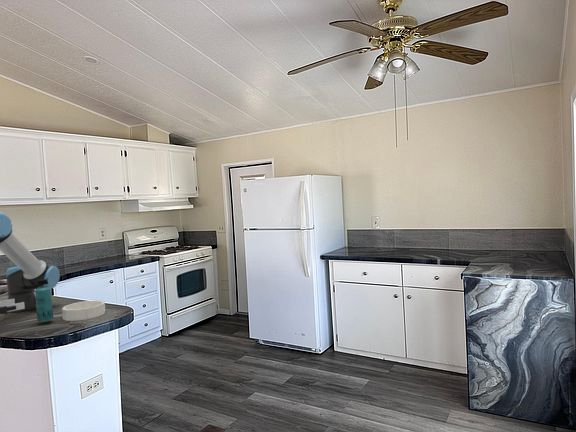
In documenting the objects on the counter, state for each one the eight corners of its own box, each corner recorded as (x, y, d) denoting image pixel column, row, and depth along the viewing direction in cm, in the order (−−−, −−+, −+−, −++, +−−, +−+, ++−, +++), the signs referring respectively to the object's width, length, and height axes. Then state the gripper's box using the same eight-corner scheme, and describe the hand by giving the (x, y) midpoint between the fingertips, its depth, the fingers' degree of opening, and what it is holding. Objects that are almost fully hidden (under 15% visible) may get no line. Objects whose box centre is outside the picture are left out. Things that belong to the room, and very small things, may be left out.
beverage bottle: (38, 322, 191) (35, 279, 190) (55, 320, 193) (51, 277, 192) (35, 326, 185) (32, 281, 184) (52, 323, 187) (49, 279, 186)
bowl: (57, 317, 198) (56, 307, 198) (95, 308, 211) (94, 299, 211) (72, 323, 186) (71, 312, 186) (111, 313, 199) (110, 303, 199)
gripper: (-48, 319, 174) (11, 308, 190) (-34, 329, 157) (29, 315, 173) (-49, 302, 173) (10, 292, 189) (-36, 309, 157) (27, 298, 173)
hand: (19, 303), depth 181 cm, fingers open, 13 cm apart
